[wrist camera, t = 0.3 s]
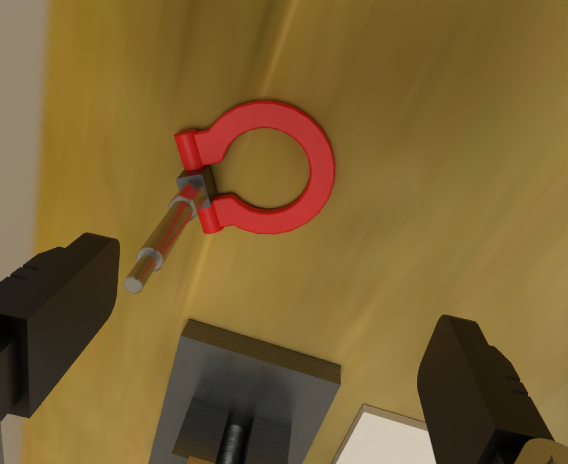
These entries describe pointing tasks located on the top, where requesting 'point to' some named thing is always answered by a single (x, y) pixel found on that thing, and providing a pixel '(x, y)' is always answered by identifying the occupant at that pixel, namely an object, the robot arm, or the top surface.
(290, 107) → the tow hook
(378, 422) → the pad
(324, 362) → the gray base plate
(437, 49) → the top surface
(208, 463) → the collar
